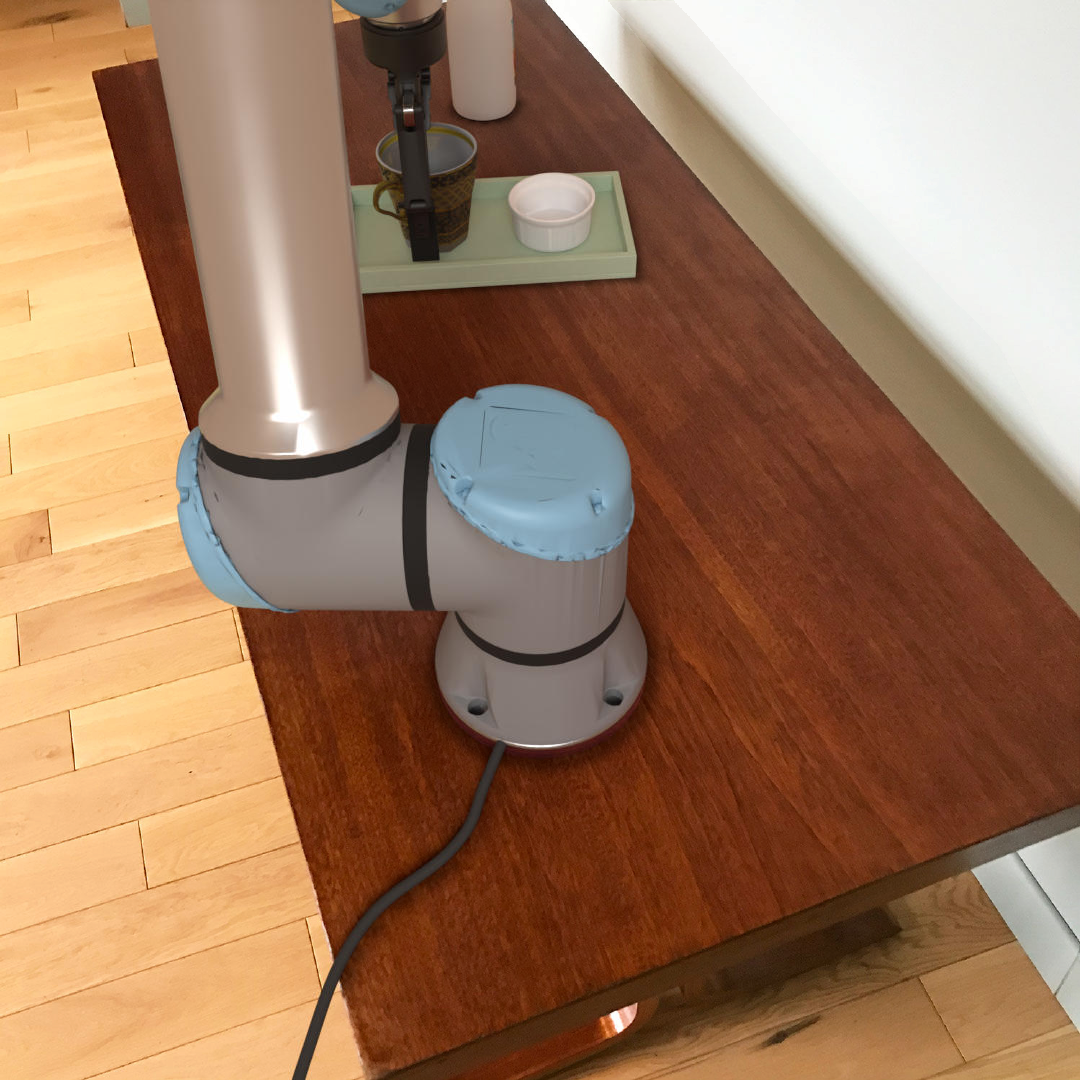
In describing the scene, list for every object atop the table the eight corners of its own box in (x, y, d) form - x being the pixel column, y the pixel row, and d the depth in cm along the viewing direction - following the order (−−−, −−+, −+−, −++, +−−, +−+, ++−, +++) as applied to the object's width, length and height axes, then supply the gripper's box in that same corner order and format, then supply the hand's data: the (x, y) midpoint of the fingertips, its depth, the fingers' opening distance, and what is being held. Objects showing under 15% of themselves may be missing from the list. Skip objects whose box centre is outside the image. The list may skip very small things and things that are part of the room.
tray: (635, 277, 112) (636, 255, 110) (340, 295, 111) (336, 273, 109) (617, 192, 122) (618, 170, 120) (346, 207, 121) (343, 186, 119)
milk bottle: (515, 122, 132) (508, -56, 117) (450, 123, 132) (435, -55, 117) (517, 90, 137) (511, -85, 122) (455, 91, 137) (440, -84, 122)
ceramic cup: (430, 199, 121) (421, 111, 113) (503, 229, 117) (498, 141, 109) (348, 256, 114) (332, 168, 107) (422, 291, 110) (411, 201, 103)
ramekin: (569, 266, 112) (569, 229, 109) (493, 242, 115) (491, 205, 112) (609, 222, 117) (610, 185, 114) (536, 200, 120) (535, 163, 117)
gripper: (446, 70, 91) (465, 293, 108) (441, -46, 106) (459, 167, 122) (354, 75, 91) (387, 297, 108) (362, -42, 105) (391, 170, 122)
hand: (425, 228), depth 115 cm, fingers closed on ceramic cup, 10 cm apart
